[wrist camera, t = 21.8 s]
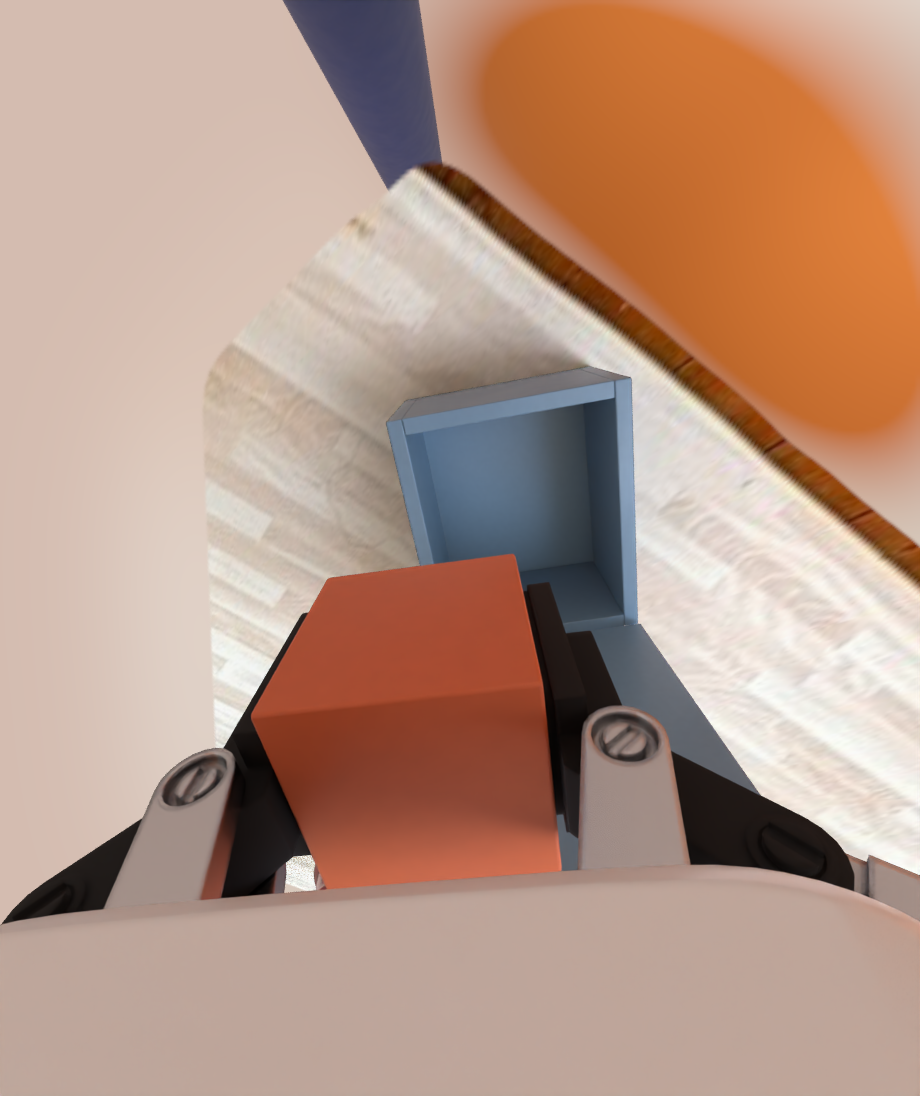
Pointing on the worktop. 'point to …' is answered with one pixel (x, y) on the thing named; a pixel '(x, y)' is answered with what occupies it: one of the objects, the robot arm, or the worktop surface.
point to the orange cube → (415, 728)
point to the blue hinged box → (529, 485)
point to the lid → (656, 711)
